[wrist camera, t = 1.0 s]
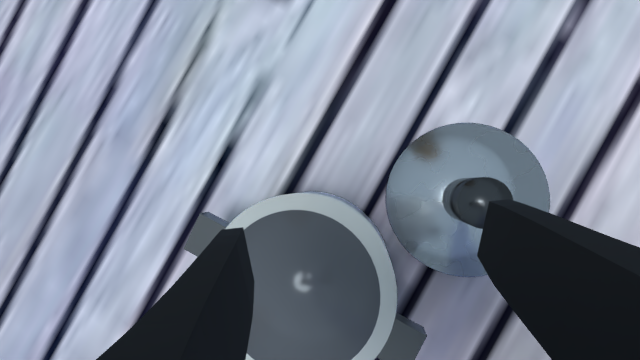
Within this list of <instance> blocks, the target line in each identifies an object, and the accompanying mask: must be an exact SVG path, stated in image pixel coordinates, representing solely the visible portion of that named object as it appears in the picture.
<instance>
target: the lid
mask: <svg viewBox="0 0 640 360" xmlns="http://www.w3.org/2000/svg"><path fill="white" fill-rule="evenodd" d="M506 199H510V200H514V201H517V202H520V203H523V204H526V205H529V206H532V207H534V208H537V209H540V210H543V211H545V212H548V213H549V207H550V194H549V187H548V183H547V179H546V176H545V174H544V171H543V169H542V167H541V165H540V163H539V162H538V160H537V159H536V157H535V156H534V155H533V153H532V152H531V151H530V150H529V149H528V148H527V147H526V146H525V145H524V144H523V143H522V142H521V141H519V140H518V139H516V138H515V137H513V136H512V135H510V134H508V133H506V132H504V131H503V130H500V129H497V128H495V127H492V126H488V125H483V124H476V123H457V124H451V125H446V126H443V127H439V128H437V129H434V130H432V131H429V132H428V133H426V134H424V135H422V136H421V137H419V138H418V139H417V140H415V141H414V142H413V143H412V144H411V145H409V146H408V147H407V148H406V149H405V150H404V152H403V153H402V154H401V155H400V157H399V158H398V159H397V161H396V163H395V165H394V166H393V168H392V171H391V173H390V176H389V179H388V183H387V189H386V208H387V214H388V217H389V221H390V224H391V226H392V228H393V231H394V233H395V234H396V236H397V238H398V239H399V241H400V242H401V244H402V245H403V246H404V247H405V249H406V250H407V251H408V252H409V253H410V254H411V255H412V256H414V257H415V258H416V259H417V260H419V261H420V262H421V263H423V264H425V265H426V266H428V267H430V268H432V269H434V270H437V271H439V272H442V273H446V274H449V275H455V276H462V277H475V276H484V275H488V274H487V272H486V271H485V269H484V267H483V265H482V264H481V262H480V260H479V258H478V256H477V253H478V248H479V244H480V240H481V235H482V231H483V226H484V222H485V217H486V213H487V208H488V204H489V201H496V200H506Z"/></svg>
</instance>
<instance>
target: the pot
mask: <svg viewBox="0 0 640 360" xmlns="http://www.w3.org/2000/svg"><path fill="white" fill-rule="evenodd" d="M241 227H243V229H244V234H245V238H246V243H247V248H248V253H249V257H250V262H251V267H252V272H253V276H254V281H255V283H254V304H253V317H252V324H251V330H250V336H249V342H248V348H247V354H246V360H374V359H375V358H376V357H377V358H379V359H381V360H415V358H416V356H417V354H418V352H419V350H420V348H421V346H422V345H423V343H424V341H425V339H426V337H427V334H426V332H425V330H424V327H422V326H421V325H419V324H417V323H415V322H413V321H411V320H409V319H408V318H406V317H404V316H402V315H400V314H398V313H396V308H397V286H396V279H395V274H394V270H393V267H392V263H391V260H390V257H389V254H388V251H387V248H386V245H385V243H384V241H383V238H382V236H381V234H380V232H379V231H378V229H377V227H376V226H375V224H374V223H373V222H372V221H371V219H370V218H369V217H368V216H367V215H366V214H365V213H364V212H363V211H362V210H361V209H359V208H358V207H357V206H355V205H354V204H352V203H351V202H349V201H347V200H345V199H343V198H341V197H338V196H336V195H332V194H328V193H323V192H299V193H292V194H286V195H279V196H275V197H272V198H268V199H265V200H263V201H260V202H258V203H256V204H254V205H252V206H251V207H249V208H247V209H246V210H244V211H243V212H242V213H240V214H239V215H238V216H237V217H235V219H234V220H233V221H232V222H231V223H228V222H226V221H225V220H223V219H221V218H219V217H217V216H215V215H213V214H212V213H210V212H205V213H200V215H199V217H198V219H197V221H196V223H195V226H194V228H193V230H192V232H191V234H190V236H189V239H188V241H187V243H186V245H185V247H184V249H185V250H187V251H189V252H190V253H192V254H194V255H196V256H199V255H200V254H201V253H202V251H203V250H204V249H205V248H206V247H207V246H208V244H209V243H210V242H211V241H212V240H213V238H214V237H215V236H216V235H217V234H218V233H219V232H220V231H221V230H222V229H232V228H241Z"/></svg>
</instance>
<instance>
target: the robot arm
mask: <svg viewBox="0 0 640 360" xmlns="http://www.w3.org/2000/svg"><path fill="white" fill-rule="evenodd" d="M477 256H478V258H479V260H480V262H481V264H482V265H483V267H484V269H485V271H486V272H487V274H488V276H489V277H490V279H491V281H492V282H493V284H494V286H495V287H496V288H497V290H498V291H499V292H500V294H501V295H502V296H503V297H504V299H505V300H506V301H507V303H508V304H509V305H510V307H511V308H512V309H513V311H514V312H515V313H516V314H517V316H518V317H519V318H520V319H521V321H522V322H523V323H524V325H525V326H526V327H527V328H528V330H529V331H530V332H531V333H532V335H533V336H534V337H535V339H536V340H537V341H538V342H539V344H540V345H541V346H542V347H543V349H544V350H545V351H546V353H547V354H548V355H549V356H550V358H551V359H552V360H640V248H639V247H637V246H634V245H631V244H628V243H626V242H623V241H620V240H618V239H615V238H612V237H610V236H607V235H604V234H602V233H599V232H596V231H594V230H591V229H589V228H586V227H584V226H581V225H578V224H576V223H573V222H571V221H568V220H566V219H563V218H561V217H558V216H555V215H553V214H550V213H548V212H545V211H543V210H540V209H537V208H534V207H532V206H529V205H526V204H523V203H520V202H517V201H514V200H510V199H506V200H496V201H489V204H488V208H487V213H486V217H485V222H484V226H483V231H482V235H481V240H480V244H479V248H478V253H477ZM254 283H255V281H254V276H253V272H252V267H251V262H250V257H249V253H248V248H247V243H246V238H245V234H244V229H243V227H241V228H232V229H222V230H221V231H220V232H219V233H218V234H217V235H216V236H215V237H214V238H213V240H212V241H211V242H210V243H209V244H208V246H207V247H206V248H205V249H204V250H203V251H202V253H201V254H200V255H199V256H198V257H197V259H196V260H195V261H194V262H193V263H192V264H191V266H190V267H189V268H188V269H187V270H186V271H185V272H184V273H183V275H182V276H181V277H180V278H179V279H178V280H177V281H176V282H175V284H174V285H173V286H172V287H171V288H170V289H169V290H168V291H167V292H166V293H165V294H164V295H163V296H162V297H161V298H160V299H159V300H158V301H157V303H156V304H155V305H154V306H153V307H152V308H151V309H150V310H149V311H148V312H147V313H146V314H145V315H144V316H143V317H142V318H141V319H140V320H139V321H138V322H137V323H136V324H135V325H134V326H133V327H132V328H131V329H129V330H128V331H127V332H126V333H125V334H124V335H123V336H122V337H121V338H120V339H119V340H118V341H117V342H115V343H114V344H113V345H112V346H111V347H110V348H109V349H108V350H106V351H105V352H104V353H103V354H102V355H101V356H100V357H99V358H98V359H96V360H246V354H247V348H248V342H249V336H250V330H251V324H252V317H253V304H254Z"/></svg>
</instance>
